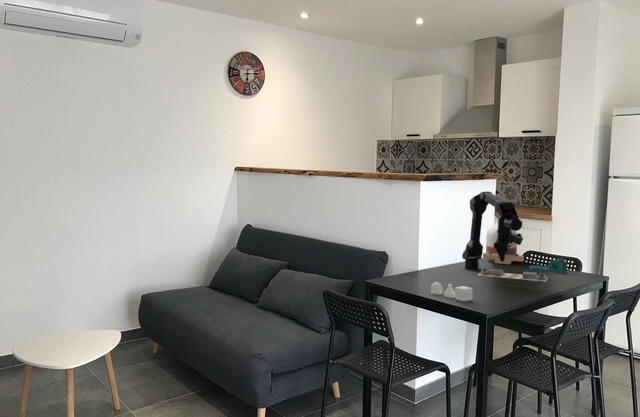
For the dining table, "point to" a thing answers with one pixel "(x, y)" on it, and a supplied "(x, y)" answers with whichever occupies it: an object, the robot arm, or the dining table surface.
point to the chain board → (513, 276)
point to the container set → (459, 293)
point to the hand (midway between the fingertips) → (503, 260)
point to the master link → (506, 259)
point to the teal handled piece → (552, 267)
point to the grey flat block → (533, 275)
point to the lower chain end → (492, 272)
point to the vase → (493, 237)
